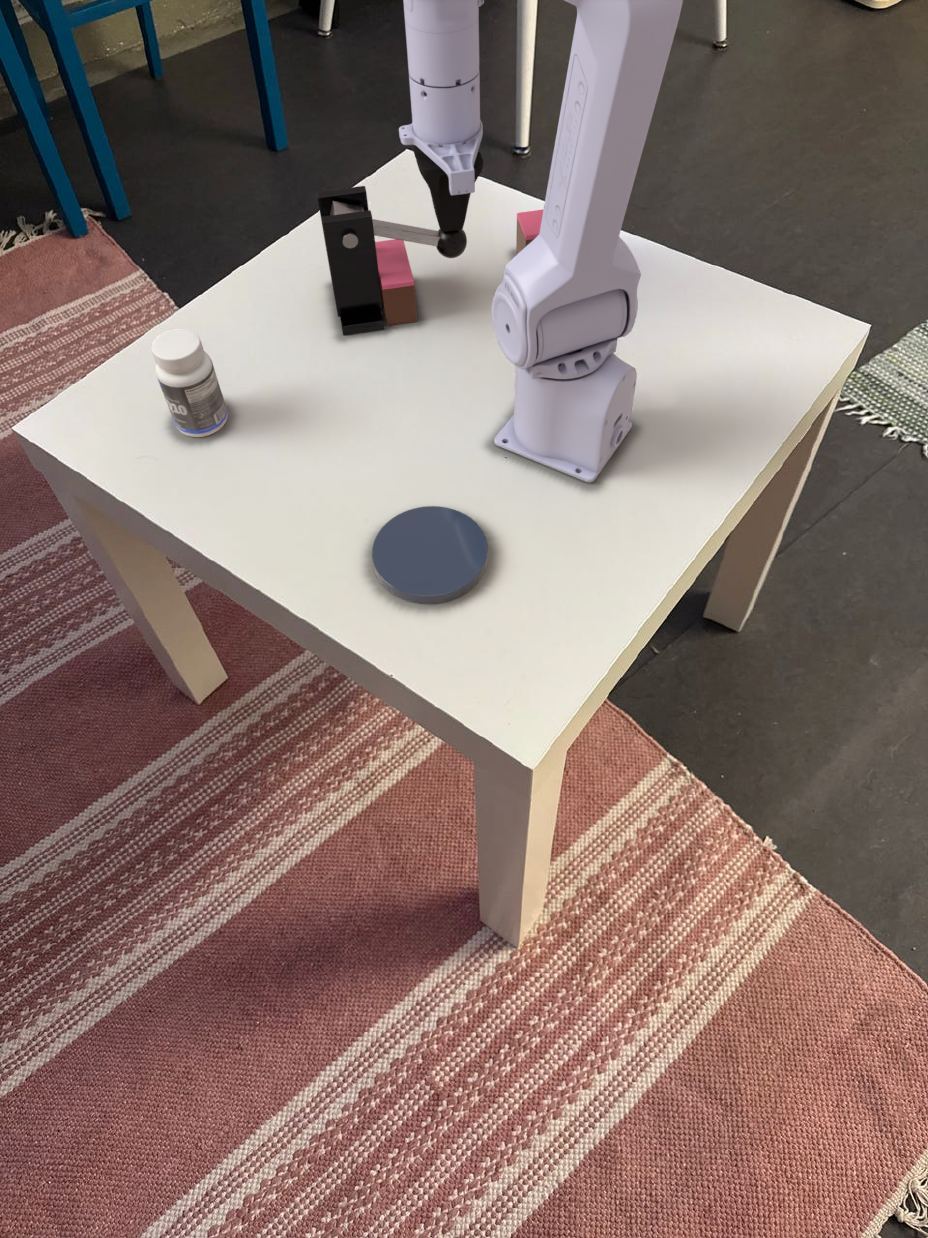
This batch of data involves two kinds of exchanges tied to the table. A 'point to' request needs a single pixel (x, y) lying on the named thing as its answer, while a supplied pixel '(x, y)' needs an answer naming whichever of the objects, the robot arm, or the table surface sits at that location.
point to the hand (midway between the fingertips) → (450, 226)
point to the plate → (430, 554)
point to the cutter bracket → (352, 261)
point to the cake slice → (527, 228)
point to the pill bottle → (189, 383)
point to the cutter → (412, 232)
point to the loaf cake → (396, 282)
